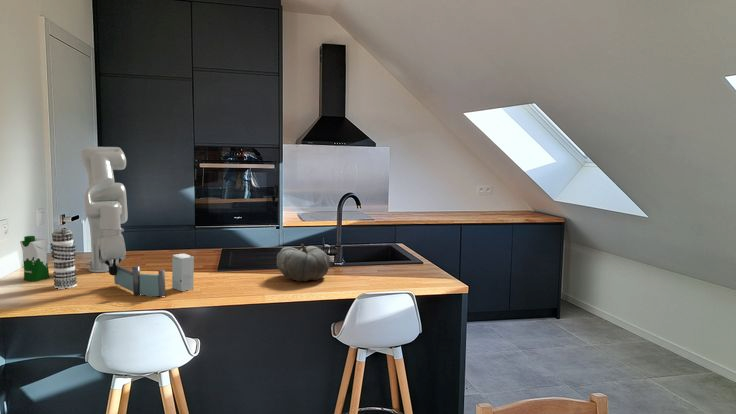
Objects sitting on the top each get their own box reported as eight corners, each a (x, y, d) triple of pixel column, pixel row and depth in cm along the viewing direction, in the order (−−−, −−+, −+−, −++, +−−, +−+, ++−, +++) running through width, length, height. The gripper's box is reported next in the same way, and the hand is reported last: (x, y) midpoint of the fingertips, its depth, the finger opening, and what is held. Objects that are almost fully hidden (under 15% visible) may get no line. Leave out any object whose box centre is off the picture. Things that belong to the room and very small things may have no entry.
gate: (137, 291, 213) (136, 271, 212) (133, 292, 212) (132, 272, 210) (118, 282, 225) (117, 264, 224) (114, 283, 223) (113, 264, 222)
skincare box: (171, 288, 221) (170, 254, 219) (184, 285, 226) (183, 252, 224) (182, 292, 216) (181, 258, 214) (195, 289, 220) (194, 255, 218)
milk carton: (20, 280, 230) (17, 236, 227) (39, 275, 238) (36, 233, 235) (34, 282, 227) (31, 238, 224) (53, 277, 235) (50, 234, 233)
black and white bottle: (51, 285, 222) (48, 229, 219) (76, 282, 228) (72, 227, 225) (54, 290, 215) (50, 232, 212) (79, 287, 221) (76, 230, 217)
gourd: (263, 273, 238) (270, 237, 237) (300, 271, 258) (307, 238, 257) (300, 288, 223) (308, 250, 222) (337, 285, 243) (344, 250, 242)
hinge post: (132, 295, 210) (130, 267, 208) (136, 293, 213) (134, 265, 211) (138, 296, 210) (137, 267, 208) (142, 294, 212) (141, 266, 211)
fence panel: (139, 296, 210) (138, 270, 208) (143, 294, 212) (142, 268, 211) (163, 297, 208) (162, 271, 207) (166, 296, 210) (165, 270, 209)
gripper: (124, 229, 224) (126, 270, 226) (88, 233, 213) (91, 276, 215) (132, 231, 220) (134, 272, 222) (96, 236, 208) (99, 279, 210)
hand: (113, 274), depth 218 cm, fingers closed
